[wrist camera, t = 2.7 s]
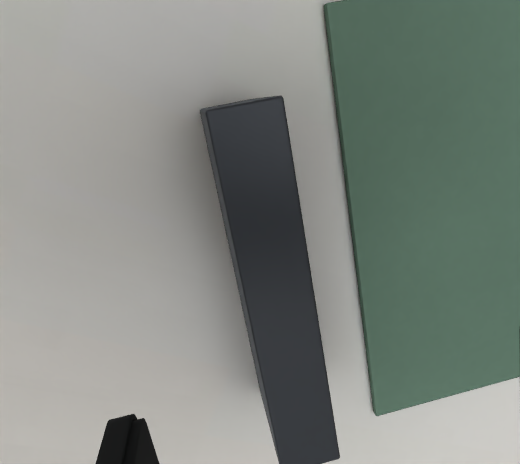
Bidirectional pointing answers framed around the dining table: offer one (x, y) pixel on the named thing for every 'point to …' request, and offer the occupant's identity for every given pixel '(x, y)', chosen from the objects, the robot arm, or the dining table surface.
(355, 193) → the placemat
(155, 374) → the dining table surface
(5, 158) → the dining table surface
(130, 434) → the robot arm
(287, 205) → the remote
